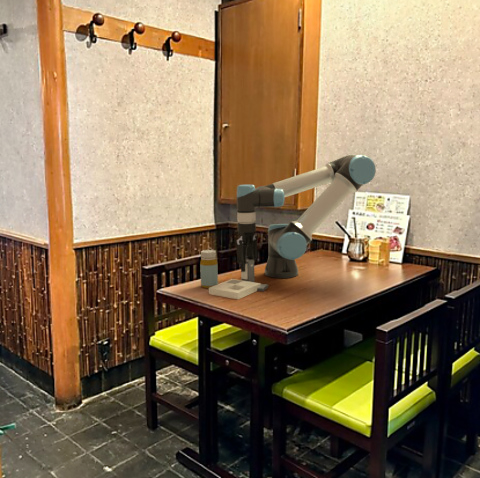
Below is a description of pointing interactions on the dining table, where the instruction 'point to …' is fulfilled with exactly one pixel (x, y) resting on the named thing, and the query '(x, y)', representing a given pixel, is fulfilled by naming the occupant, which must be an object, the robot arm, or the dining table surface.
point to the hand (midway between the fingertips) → (247, 277)
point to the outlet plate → (234, 288)
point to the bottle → (208, 269)
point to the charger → (250, 271)
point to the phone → (262, 287)
